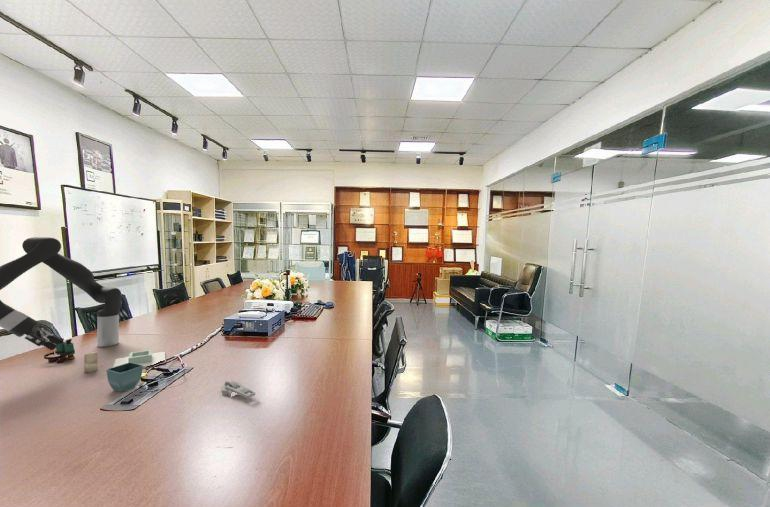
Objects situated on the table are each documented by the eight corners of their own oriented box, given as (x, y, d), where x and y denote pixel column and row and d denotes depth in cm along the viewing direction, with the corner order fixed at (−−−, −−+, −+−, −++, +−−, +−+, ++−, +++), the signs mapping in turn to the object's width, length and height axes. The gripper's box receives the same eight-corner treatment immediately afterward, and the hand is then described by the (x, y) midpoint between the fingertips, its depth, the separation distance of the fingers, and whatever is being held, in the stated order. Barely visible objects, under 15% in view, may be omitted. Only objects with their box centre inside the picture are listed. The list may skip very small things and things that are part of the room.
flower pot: (143, 385, 127) (143, 365, 127) (119, 395, 119) (119, 373, 119) (129, 382, 130) (130, 361, 130) (105, 391, 122) (105, 369, 122)
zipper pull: (242, 406, 114) (242, 395, 114) (216, 392, 124) (216, 382, 124) (260, 398, 121) (260, 387, 121) (234, 385, 131) (235, 375, 130)
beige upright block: (85, 370, 140) (85, 353, 140) (98, 368, 143) (98, 351, 143) (83, 373, 137) (83, 356, 137) (96, 371, 140) (96, 354, 139)
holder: (115, 360, 152) (115, 352, 152) (164, 353, 164) (164, 345, 164) (111, 373, 138) (111, 363, 138) (165, 364, 150) (165, 355, 150)
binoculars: (38, 344, 144) (62, 336, 154) (41, 365, 146) (64, 355, 156) (54, 345, 144) (77, 337, 153) (57, 366, 145) (80, 357, 155)
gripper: (21, 319, 122) (62, 343, 129) (33, 312, 133) (70, 334, 140) (1, 334, 119) (44, 357, 126) (14, 326, 130) (53, 347, 137)
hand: (57, 345), depth 133 cm, fingers open, 8 cm apart
